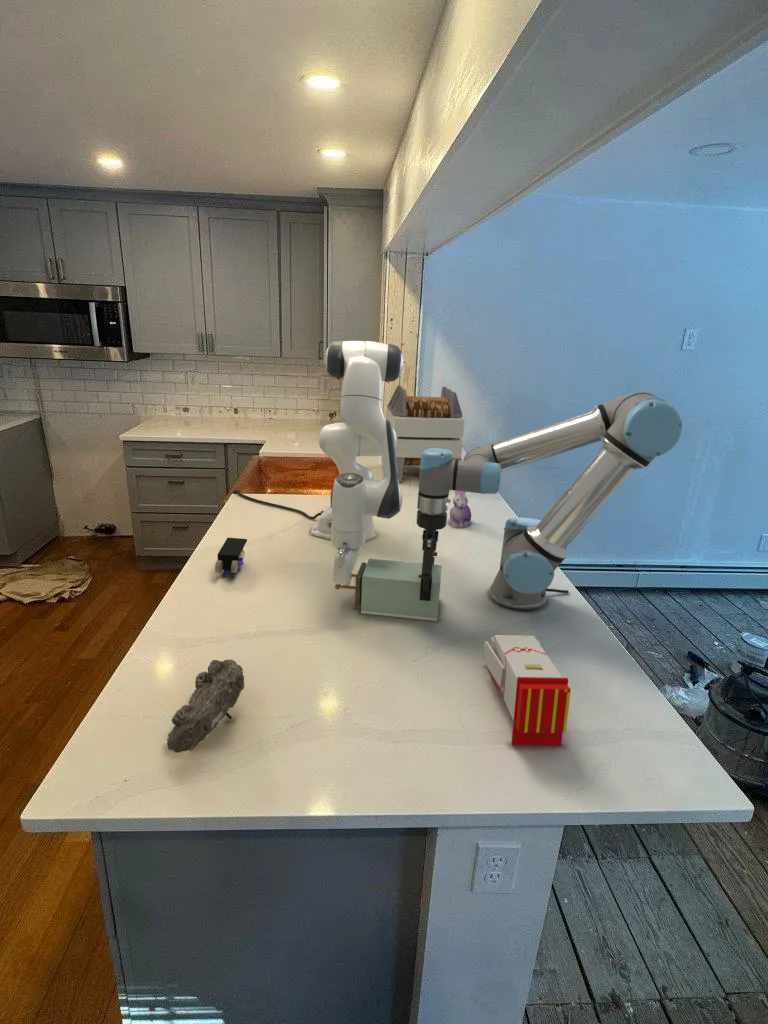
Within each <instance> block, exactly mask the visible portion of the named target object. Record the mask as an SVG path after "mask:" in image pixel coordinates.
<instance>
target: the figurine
mask: <svg viewBox="0 0 768 1024" xmlns="http://www.w3.org/2000/svg"><path fill="white" fill-rule="evenodd" d="M452 503H453V506H452V507H451V508H450V511H449V518H448V519H449V520H448V523H449V524H450V525H451V527H454V528H464V527H468V526H469V525H470V524H471V520H472V511H471V508H470V506H469V505H468V503H469V499H468V497H467V495H466V492H465V491H456V490H454V496H453V498H452Z"/></svg>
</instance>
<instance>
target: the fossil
mask: <svg viewBox="0 0 768 1024" xmlns="http://www.w3.org/2000/svg"><path fill="white" fill-rule="evenodd" d="M243 670H244V669H243V667H242V665H240V664H237V662H236V661H235V660H234V659H232V658H231V659H227V658H226V659H224V660H223V661H222V660H217V659H212V660H211V661H210V663H209V665H208V666H207V671H201V672H199V673H198V674H197V675H196V676H195V680H194V684H195V685H194V687H195V689H194V690H193V693H192V694H191V697H190V698H189V700H188V704H184V705H182V706H181V707H180V709H177V710H176V711H175V713H174V715H173V716H172V718H171V723H172V724H173V727H172V730H171V731H170V732H168V734H167V738H166V741H167V742H166V745H167V749H168V750H169V751H173V752H174V753H176V754H178V753H182V752H188V751H189V752H192V751H193V750H195V748H196V747H197V746H199V744H200V743H201V742H203V741H204V740H205V739H206V738H207V737H208V736H209V735H210V734H211V733H212V732H214V730H215V729H217V727H218V726H219V724H220V722H221V721H222V720H223V719H224V718H225V716H226V717H227V719H229V720H233V717H232V715H230V714H229V710H230V709H231V708H234V706H235V704H236V703H237V702H238V699H239V697H240V695H241V693H242V691H243V690H245V689H244V688H245V675H244V671H243Z"/></svg>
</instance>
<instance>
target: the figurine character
mask: <svg viewBox="0 0 768 1024" xmlns="http://www.w3.org/2000/svg"><path fill="white" fill-rule="evenodd" d="M247 542H248V538H240V537H226V539H225V541H224V543H223V544H222V546H221V547H220V549H219V551H218V552H217V560H216V562H215V564H214V572H215V573H221V577H222V578H224V577H225V576H226V574H227V573H230V574H231V573H232V574H231V578H234V577H235V575H236V573H237V572H239V571H240V567H242V566H243V565H244V564H245V562H244V558H245V551H244V547H245V546H246V544H247Z"/></svg>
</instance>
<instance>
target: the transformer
mask: <svg viewBox="0 0 768 1024" xmlns="http://www.w3.org/2000/svg"><path fill="white" fill-rule="evenodd" d="M440 393H441V394H440V396H415V395H414V396H413V395H412V396H411V395H407V394H408V393H407V390H406V389H404V388H403V387H402V385H399V384H398V385H397V386H396V388H395V390H394V392H393V394H392V395H391V398H390V400H389V402H388V404H387V405H386V413H385V414H386V415H385V419H387V420H388V421H390V422H391V425H392V428H393V429H394V430H395V432H396V435H397V444H396V447H395V449H396V459H397V469H398V479H399V483H402V482H403V475H404V469H405V466H406V467H407V466H411V467H412V466H413V467H415V466H416V467H417V466H418V467H420V463H421V455H422V452H423V451H424V450H426V449H429V448H442V449H447V450H449V451H451V452H452V457H453V459H456V460H463V459H462V453H463V442H464V441H463V440H462V439H463V438H464V431H465V430H464V429H465V419H464V418H463V411H462V408H461V405H460V402H459V398H458V395H457V392H455V391H453V390H452V389H451V388H447V386H442V387H441V392H440Z"/></svg>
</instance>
